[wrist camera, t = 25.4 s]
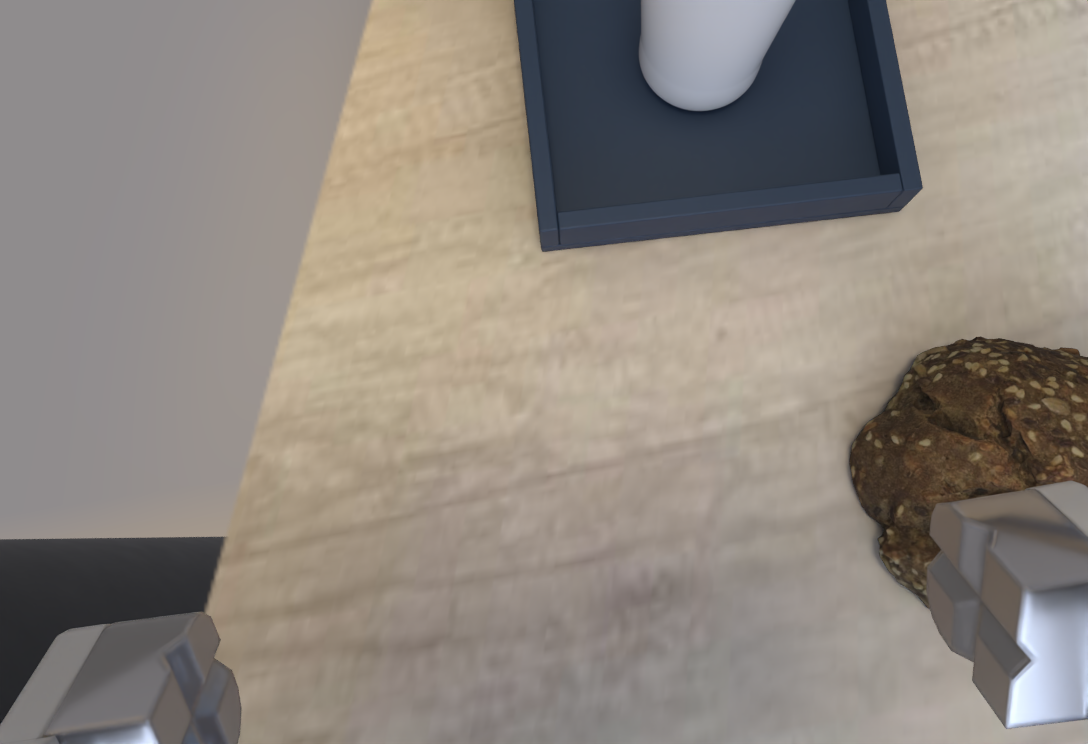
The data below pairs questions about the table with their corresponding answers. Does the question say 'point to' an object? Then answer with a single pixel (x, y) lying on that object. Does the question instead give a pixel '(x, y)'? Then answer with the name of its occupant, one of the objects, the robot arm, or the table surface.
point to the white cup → (706, 48)
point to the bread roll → (968, 439)
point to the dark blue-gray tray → (711, 128)
